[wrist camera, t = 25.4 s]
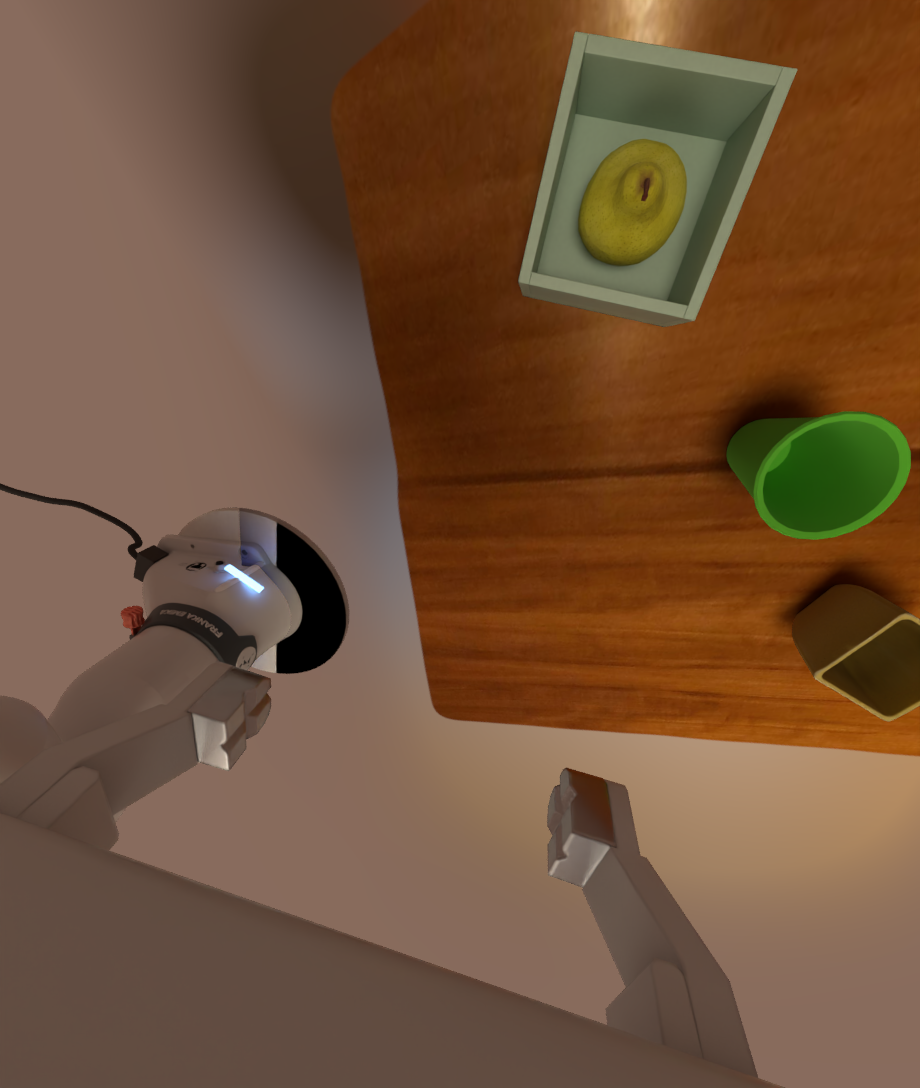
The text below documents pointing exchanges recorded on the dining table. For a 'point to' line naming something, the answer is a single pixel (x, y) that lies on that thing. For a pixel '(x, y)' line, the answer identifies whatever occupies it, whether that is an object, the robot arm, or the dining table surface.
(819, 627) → the flower pot
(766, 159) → the dining table surface
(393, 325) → the dining table surface
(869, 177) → the dining table surface
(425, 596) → the dining table surface
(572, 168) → the bin
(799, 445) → the cup
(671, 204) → the fruit
